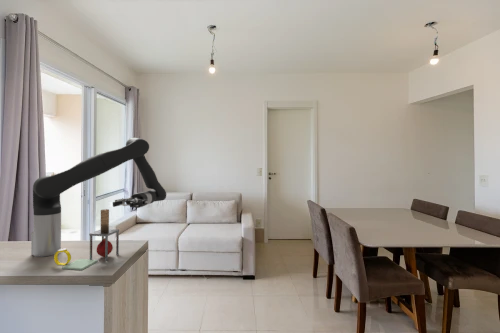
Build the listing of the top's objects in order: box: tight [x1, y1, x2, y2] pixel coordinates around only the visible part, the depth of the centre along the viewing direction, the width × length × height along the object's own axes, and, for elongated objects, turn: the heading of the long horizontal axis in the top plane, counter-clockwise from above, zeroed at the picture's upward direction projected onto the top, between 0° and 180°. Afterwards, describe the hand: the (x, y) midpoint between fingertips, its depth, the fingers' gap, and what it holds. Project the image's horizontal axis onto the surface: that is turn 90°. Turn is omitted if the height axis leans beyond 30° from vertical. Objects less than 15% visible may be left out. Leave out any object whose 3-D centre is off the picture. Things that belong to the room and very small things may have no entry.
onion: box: [96, 237, 114, 258], centre depth 103 cm, size 6×6×8 cm
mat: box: [61, 258, 99, 271], centre depth 95 cm, size 8×8×1 cm
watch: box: [53, 247, 72, 266], centre depth 95 cm, size 6×3×6 cm, turn 85°
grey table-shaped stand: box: [89, 208, 120, 262], centre depth 103 cm, size 8×8×20 cm
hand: (122, 204), depth 114 cm, fingers open, 8 cm apart
